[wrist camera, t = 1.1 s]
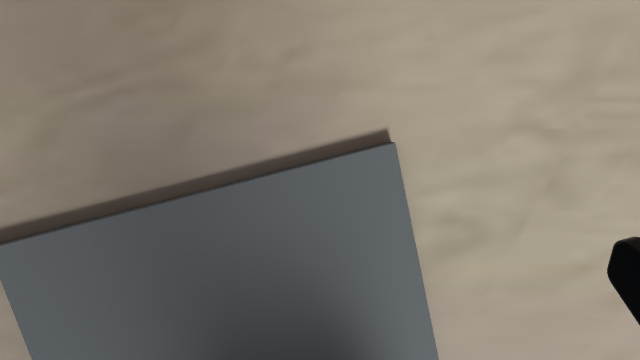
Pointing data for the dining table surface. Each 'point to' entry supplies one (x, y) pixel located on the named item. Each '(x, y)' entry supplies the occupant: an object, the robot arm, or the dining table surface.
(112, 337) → the mat
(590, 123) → the dining table surface
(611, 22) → the dining table surface
